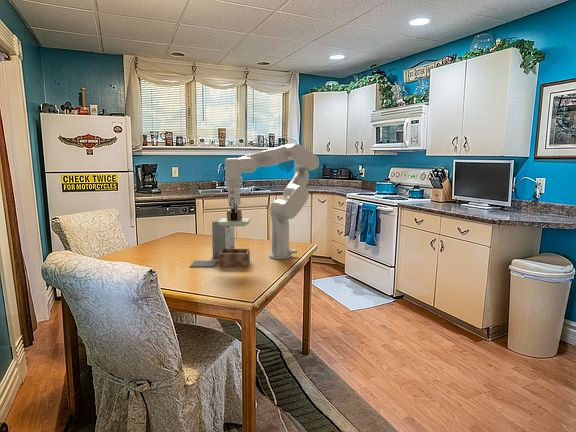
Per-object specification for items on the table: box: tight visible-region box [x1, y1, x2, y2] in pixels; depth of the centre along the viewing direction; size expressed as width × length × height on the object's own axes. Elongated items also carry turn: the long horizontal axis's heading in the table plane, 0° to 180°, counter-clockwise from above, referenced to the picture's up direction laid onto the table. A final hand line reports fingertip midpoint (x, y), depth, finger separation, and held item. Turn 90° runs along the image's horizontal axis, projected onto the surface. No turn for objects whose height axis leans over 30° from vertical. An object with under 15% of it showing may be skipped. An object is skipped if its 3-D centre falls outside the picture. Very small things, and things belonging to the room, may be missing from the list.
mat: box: [189, 260, 218, 268], centre depth 188 cm, size 12×10×1 cm
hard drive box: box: [211, 217, 236, 258], centre depth 206 cm, size 16×8×20 cm, turn 168°
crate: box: [219, 248, 251, 268], centre depth 188 cm, size 14×10×7 cm
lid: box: [218, 209, 251, 227], centre depth 184 cm, size 15×11×8 cm
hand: (234, 219), depth 185 cm, fingers closed on lid, 3 cm apart
